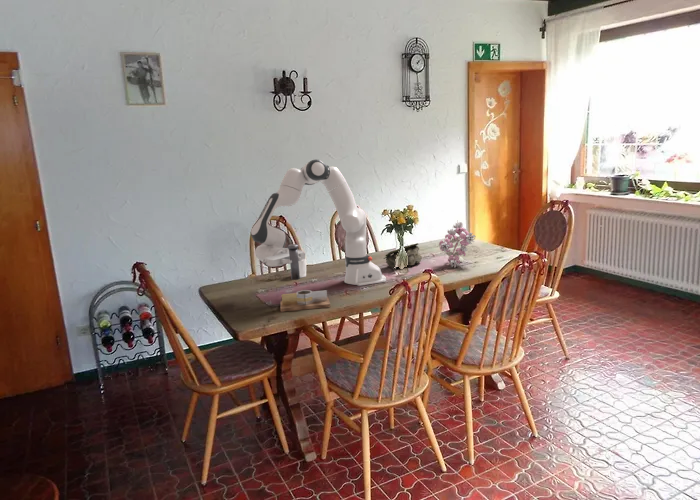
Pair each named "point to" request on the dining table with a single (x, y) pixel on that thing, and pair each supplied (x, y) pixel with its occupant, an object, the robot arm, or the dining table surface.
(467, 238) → the flower
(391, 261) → the hollow geode rock
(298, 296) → the hinge leaves
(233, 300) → the dining table surface
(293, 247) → the hinge pin
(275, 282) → the dining table surface
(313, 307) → the hinge base
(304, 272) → the white cup
